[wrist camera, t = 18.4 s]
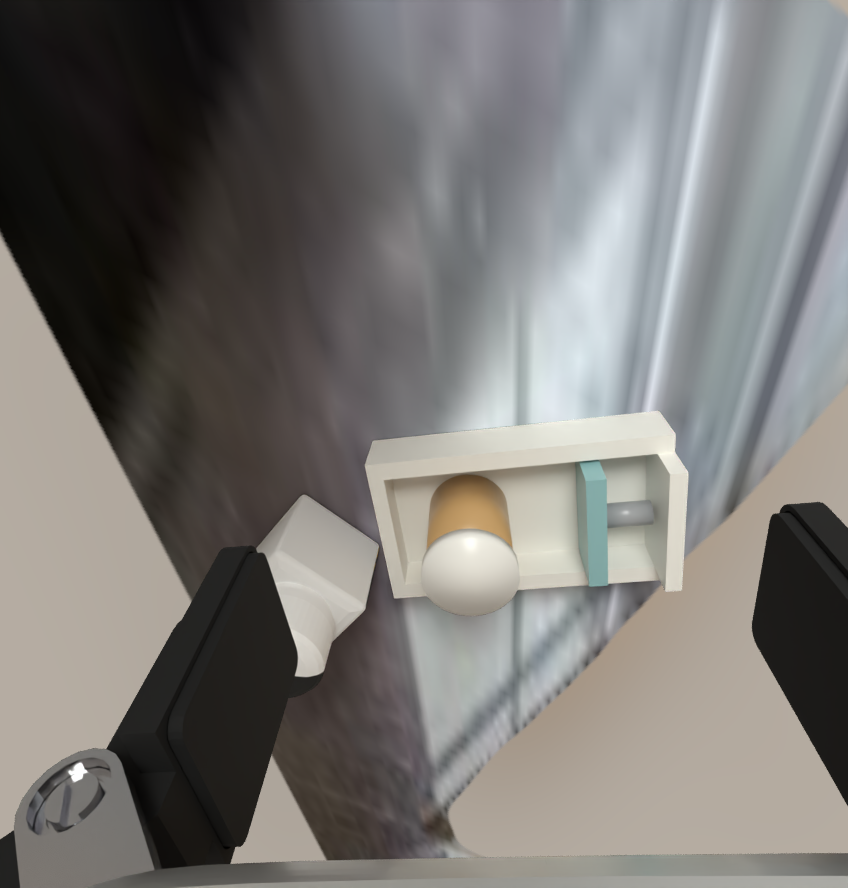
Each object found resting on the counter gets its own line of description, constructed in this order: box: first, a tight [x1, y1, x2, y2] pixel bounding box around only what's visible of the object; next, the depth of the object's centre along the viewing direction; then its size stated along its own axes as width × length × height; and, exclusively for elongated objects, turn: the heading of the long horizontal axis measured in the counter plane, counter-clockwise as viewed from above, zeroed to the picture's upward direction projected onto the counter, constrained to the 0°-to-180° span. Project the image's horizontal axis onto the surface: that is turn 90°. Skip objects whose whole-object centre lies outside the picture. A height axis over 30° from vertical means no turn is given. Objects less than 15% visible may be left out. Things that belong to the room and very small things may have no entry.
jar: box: [421, 475, 520, 616], centre depth 38 cm, size 6×6×8 cm
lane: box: [365, 411, 688, 599], centre depth 39 cm, size 11×19×6 cm, turn 98°
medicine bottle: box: [256, 495, 379, 698], centre depth 40 cm, size 7×7×12 cm
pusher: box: [575, 460, 654, 587], centre depth 38 cm, size 8×4×4 cm, turn 8°
